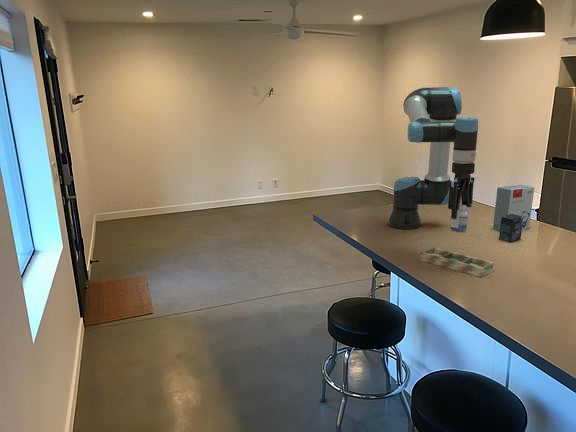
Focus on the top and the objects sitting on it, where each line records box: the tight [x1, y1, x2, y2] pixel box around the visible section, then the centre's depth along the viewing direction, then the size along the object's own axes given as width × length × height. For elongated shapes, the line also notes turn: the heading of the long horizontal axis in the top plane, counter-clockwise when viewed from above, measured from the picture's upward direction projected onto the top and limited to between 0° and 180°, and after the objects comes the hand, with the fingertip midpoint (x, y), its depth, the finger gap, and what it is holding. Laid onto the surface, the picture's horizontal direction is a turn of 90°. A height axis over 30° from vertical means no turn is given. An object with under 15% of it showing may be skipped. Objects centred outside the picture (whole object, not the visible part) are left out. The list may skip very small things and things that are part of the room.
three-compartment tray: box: [418, 246, 496, 278], centre depth 174 cm, size 25×10×3 cm, turn 41°
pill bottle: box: [450, 203, 469, 234], centre depth 170 cm, size 6×5×10 cm
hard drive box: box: [492, 184, 535, 232], centre depth 216 cm, size 16×8×20 cm, turn 114°
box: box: [498, 214, 523, 243], centre depth 202 cm, size 8×6×11 cm
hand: (458, 225), depth 170 cm, fingers closed on pill bottle, 5 cm apart
